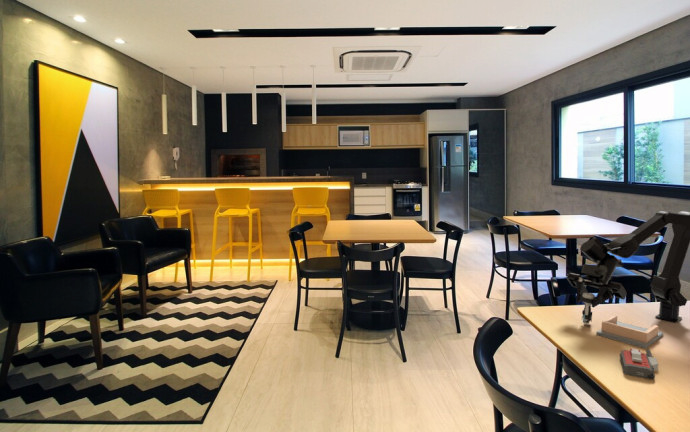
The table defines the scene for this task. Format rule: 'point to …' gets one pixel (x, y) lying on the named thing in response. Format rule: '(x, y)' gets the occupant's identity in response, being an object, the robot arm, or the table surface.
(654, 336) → the end holder
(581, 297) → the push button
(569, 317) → the table surface
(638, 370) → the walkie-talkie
